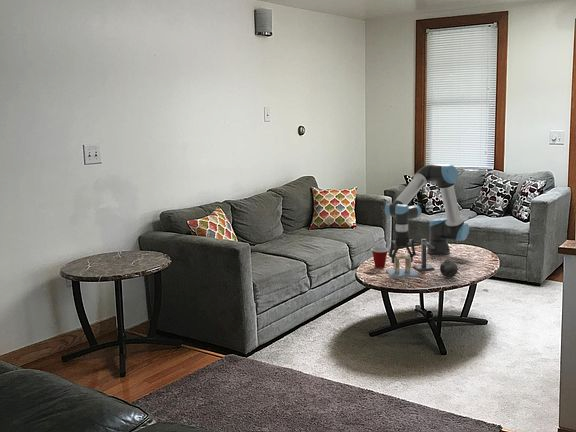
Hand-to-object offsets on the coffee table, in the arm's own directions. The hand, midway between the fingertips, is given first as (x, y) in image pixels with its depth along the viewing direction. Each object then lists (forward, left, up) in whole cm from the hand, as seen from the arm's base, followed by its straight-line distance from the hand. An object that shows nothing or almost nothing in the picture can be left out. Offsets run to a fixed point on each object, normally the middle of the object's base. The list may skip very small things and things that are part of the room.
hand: (402, 267), depth 376 cm
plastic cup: (+9, -19, -4) cm, 21 cm away
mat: (0, 0, -4) cm, 4 cm away
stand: (-16, -3, -4) cm, 17 cm away
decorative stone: (-24, +13, -4) cm, 28 cm away
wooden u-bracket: (0, 0, -3) cm, 3 cm away
